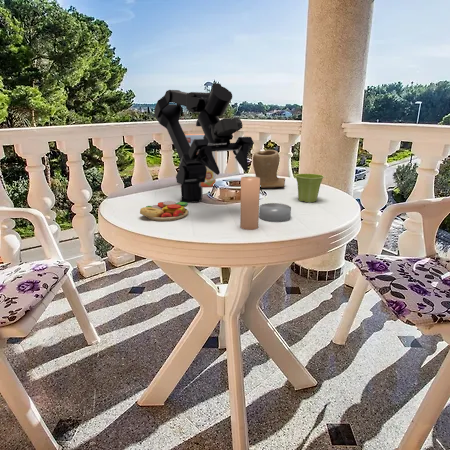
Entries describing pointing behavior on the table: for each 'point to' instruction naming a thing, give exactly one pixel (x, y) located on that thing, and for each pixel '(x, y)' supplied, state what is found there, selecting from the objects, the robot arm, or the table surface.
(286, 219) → the coaster
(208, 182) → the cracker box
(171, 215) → the toy food set
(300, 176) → the plant pot
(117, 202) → the table surface
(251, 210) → the candle
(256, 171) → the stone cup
